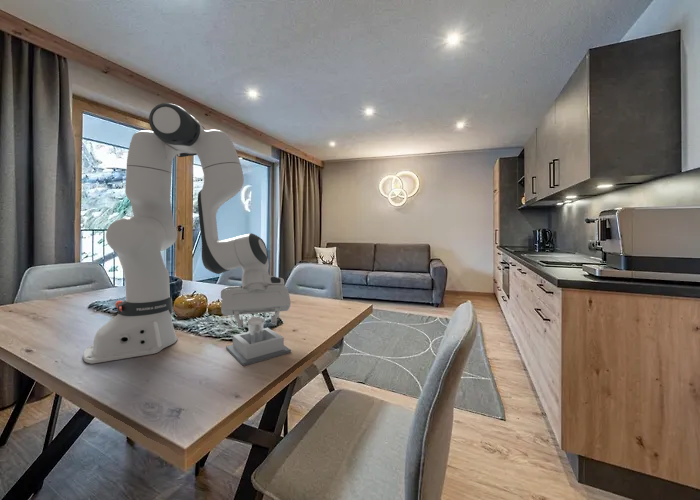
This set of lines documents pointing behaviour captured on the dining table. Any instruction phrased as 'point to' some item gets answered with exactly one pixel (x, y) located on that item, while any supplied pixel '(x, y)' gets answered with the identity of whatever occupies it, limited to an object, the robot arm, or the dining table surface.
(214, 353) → the dining table surface
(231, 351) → the sleeve housing
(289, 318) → the dining table surface
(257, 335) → the milkshake
